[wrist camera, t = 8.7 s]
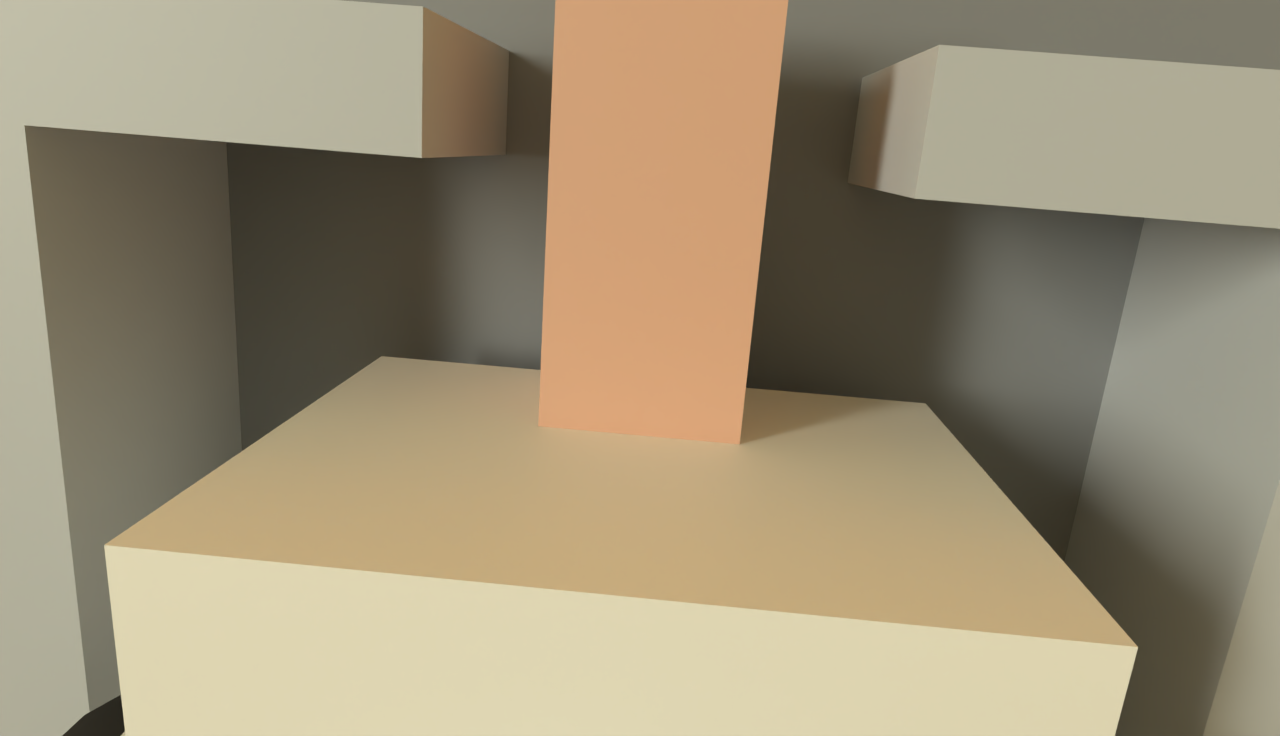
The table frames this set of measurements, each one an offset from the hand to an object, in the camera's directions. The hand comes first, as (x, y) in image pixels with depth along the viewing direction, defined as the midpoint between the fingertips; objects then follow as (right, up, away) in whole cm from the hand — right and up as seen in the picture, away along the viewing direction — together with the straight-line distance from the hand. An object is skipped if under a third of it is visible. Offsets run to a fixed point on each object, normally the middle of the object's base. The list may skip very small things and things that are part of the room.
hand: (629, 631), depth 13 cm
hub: (0, +2, 0) cm, 3 cm away
